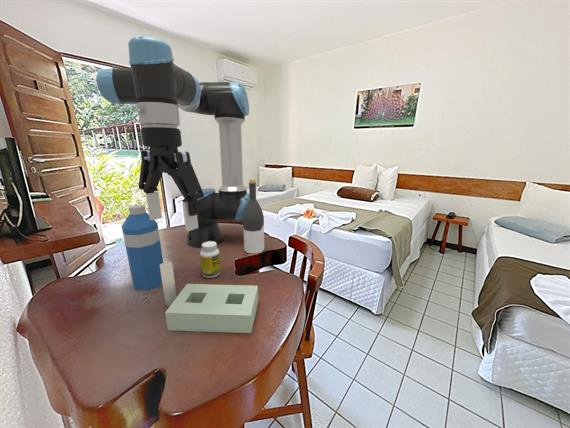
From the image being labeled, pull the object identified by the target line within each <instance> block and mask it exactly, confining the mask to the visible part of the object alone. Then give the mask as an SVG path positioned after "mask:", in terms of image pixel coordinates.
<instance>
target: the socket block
mask: <svg viewBox="0 0 570 428" xmlns="http://www.w3.org/2000/svg"><path fill="white" fill-rule="evenodd" d="M258 305H259V286H258V285H247V284H245V285H243V284H238V285H237V284H211V283H210V284H205V283H202V284H201V283H186V284H185V285H184V287H183V288H182V290H181V291H180V292H179V294H178V295H177V298H176V299H175V300H174V302H173V303H172V304H171V306H170V307H168V309H166V311H165V312H164V314H165V319H166V327H167V331H176V332H203V333H204V332H205V333H206V332H207V333H230V334H231V333H233V334H238V333H239V334H252V331H253V327H254V324H255V323H254V322H255V319H256V313H257V309H258Z"/></svg>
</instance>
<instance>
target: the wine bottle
mask: <svg viewBox="0 0 570 428" xmlns="http://www.w3.org/2000/svg"><path fill="white" fill-rule="evenodd" d="M256 186H257V183H256V179H255V178H249V182H248V189H249V191H248V193H249V196H250V199H249V201H248V203H247V205H246V207H245V210H244V214H243V220H242V224H243V225H242V226H243V247H244V249H243V251H244V254H245V253H246V254H256V253H260V252H262V251H264V252H265V216H264V212H263V209H262V207H261V205H260V203H259V202H258V200H257V190H256V188H257V187H256ZM246 254H245V255H246Z"/></svg>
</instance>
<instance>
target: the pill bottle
mask: <svg viewBox="0 0 570 428" xmlns="http://www.w3.org/2000/svg"><path fill="white" fill-rule="evenodd" d="M217 246H218V244H216V242H213V241H208V242H205V243H203V244H202V247H201V250H200V253H199V255H200V269H201V276H203V277H204V278H207V279H212V278H216V277H218V276H219V275H220V274H221V272H222V270H221V269H222V268H221V256H220V254H221V253H220V250H219V249H218V248H217Z"/></svg>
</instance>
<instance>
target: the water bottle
mask: <svg viewBox="0 0 570 428" xmlns="http://www.w3.org/2000/svg"><path fill="white" fill-rule="evenodd" d="M128 211H129V214H128V215H127V217H126V219H125V220H124V221H123V224H122V225H121V230H122V235H123V240H124V246H125V250H126V251H125V252H126V255H127V262H128V265H129V271H130V277H131V281H132V286H133V287H134V289H135V290H136V291H149V290H151V289H154V288H159V287H161V285H163V284H162V278H161V271H160V264H162V263H164V257H163V251H162V246H161V239H160V238H161V237H160V232H159V231H160V230H159V226H158V222H157V221H156V219H155V220H150V217H149V213H148V212H146V211H147V210H146V206H145V205H144V204H134V205H131V206H128Z"/></svg>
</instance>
